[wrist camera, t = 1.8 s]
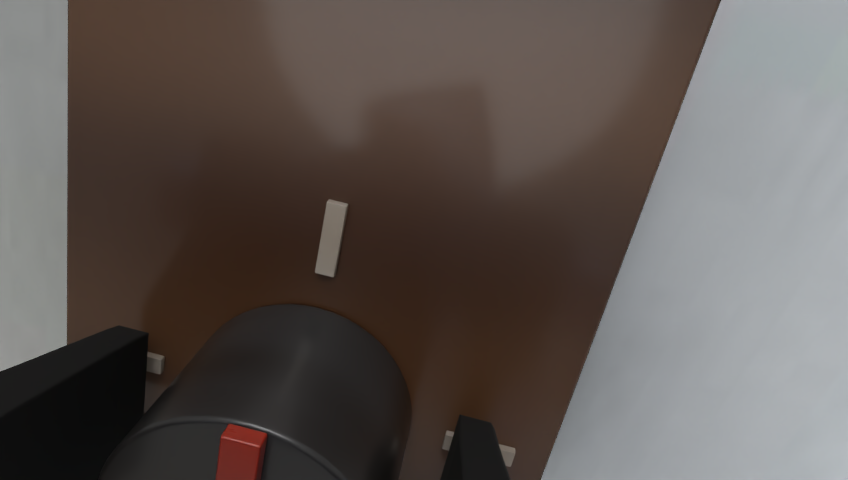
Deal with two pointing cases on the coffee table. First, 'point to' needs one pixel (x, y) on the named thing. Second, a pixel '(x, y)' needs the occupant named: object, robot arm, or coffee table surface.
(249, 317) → the knob
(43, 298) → the coffee table surface
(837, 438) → the coffee table surface
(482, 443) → the robot arm
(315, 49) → the dial panel
